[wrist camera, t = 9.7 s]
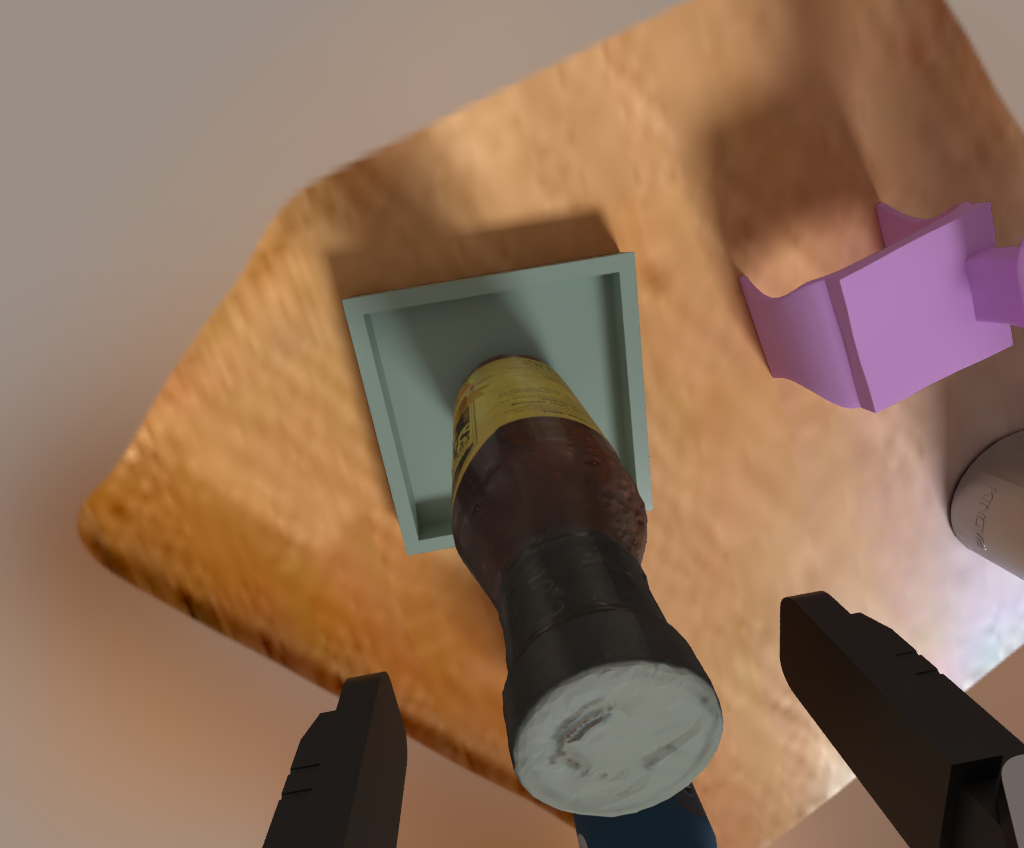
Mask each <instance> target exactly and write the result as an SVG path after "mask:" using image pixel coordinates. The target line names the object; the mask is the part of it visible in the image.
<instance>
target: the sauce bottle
mask: <svg viewBox="0 0 1024 848" xmlns="http://www.w3.org/2000/svg"><path fill="white" fill-rule="evenodd" d="M451 506H452V533H453V538H454V543H455V547H456V549H457V551H458V553H459V555H460V557H461V559H462V560H463V562H464V564H465V565H466V566H467V568H468V569H469V570H470V572H471V573H472V575H473V576H474V577H475V579H476V580H477V581H478V583H479V584H480V586H481V587H482V588H483V590H484V591H485V592H486V594H487V595H488V597H489V598H490V600H491V601H492V603H493V604H494V606H495V608H496V609H497V611H498V613H499V619H500V622H501V625H502V628H503V631H504V632H503V633H504V639H505V646H506V663H507V669H508V676H507V680H506V683H505V686H504V690H503V692H502V695H503V713H504V719H505V723H506V730H507V737H508V745H509V751H510V756H511V760H512V764H513V769H514V771H515V772H516V775H517V777H518V779H519V781H520V783H521V784H522V785H523V786H524V787H525V789H526V790H527V791H528V792H529V793H530V794H531V795H532V796H533V797H535V798H537V799H539V800H540V801H542V802H544V803H546V804H548V805H550V806H552V807H554V808H557V809H559V810H562V811H567V812H571V813H576V814H581V815H592V816H604V817H616V816H621V815H625V814H631V813H637V812H639V811H640V810H643V809H646V808H649V807H652V806H655V805H656V804H658V803H660V802H663V801H665V800H667V799H669V798H671V797H672V796H674V795H675V794H676V793H678V792H679V791H681V790H682V789H684V788H685V787H687V786H688V785H689V784H690V783H691V782H692V781H693V780H694V778H695V777H696V776H697V775H698V774H699V773H700V772H702V771H703V770H704V769H705V768H706V767H707V765H708V764H709V762H710V760H711V758H712V756H713V755H714V754H715V752H716V751H717V748H718V745H719V742H720V738H721V734H722V731H723V716H722V710H721V706H720V702H719V699H718V697H717V694H716V692H715V690H714V687H713V685H712V683H711V680H710V679H709V677H708V676H707V674H706V672H705V671H704V669H703V667H702V666H701V664H700V662H699V661H698V659H697V658H696V656H695V654H694V652H693V650H692V649H691V647H690V646H689V644H688V643H687V641H686V640H685V639H684V638H683V637H682V636H681V635H680V634H679V633H678V632H677V630H676V629H675V628H674V627H673V626H671V625H670V624H668V623H667V621H666V619H665V617H664V615H663V614H662V612H661V610H660V608H659V606H658V604H657V603H656V601H655V599H654V597H653V595H652V593H651V591H650V590H649V586H648V581H647V576H646V575H645V573H644V571H643V569H642V567H641V566H640V565H641V562H642V559H643V554H644V551H645V545H646V543H647V541H646V539H647V521H648V520H647V515H646V509H645V503H644V502H643V500H642V498H641V496H640V495H639V492H638V488H637V485H636V484H635V483H634V481H633V480H632V478H631V477H630V476H629V475H628V472H627V471H626V470H625V469H624V467H623V466H622V465H621V461H620V459H619V457H618V455H617V453H616V451H615V449H614V448H613V447H612V445H611V444H610V442H609V441H608V440H607V438H606V437H605V436H604V434H603V433H602V431H601V430H600V429H599V427H598V426H597V425H596V423H595V422H594V421H593V419H592V418H591V417H590V415H589V414H588V412H587V411H586V410H585V408H584V407H583V405H582V404H581V403H580V401H579V400H578V399H577V397H576V396H575V395H574V393H573V392H572V391H571V389H570V388H569V387H568V385H567V384H566V383H565V381H564V380H563V379H562V378H561V377H560V376H559V374H558V373H557V372H555V371H554V370H553V369H552V368H551V367H550V366H548V365H546V364H544V363H542V362H540V361H539V360H538V359H536V358H534V357H531V356H529V355H518V354H516V355H514V354H513V355H512V354H507V355H500V356H495V357H492V358H490V359H488V360H486V361H484V362H482V363H480V364H479V365H478V366H477V367H476V368H475V369H474V370H473V371H472V372H471V374H469V376H468V378H467V379H466V380H465V381H464V382H463V383H462V386H461V388H460V390H459V393H458V395H457V398H456V401H455V406H454V415H453V456H452V500H451Z"/></svg>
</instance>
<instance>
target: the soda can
mask: <svg viewBox="0 0 1024 848" xmlns="http://www.w3.org/2000/svg"><path fill="white" fill-rule="evenodd" d="M573 817H574V822H575V827H576V832H577V837H578V842H579V847H580V848H717V842H716V837H715V834H714V832H713V829H712V827H711V825H710V822H709V820H708V818H707V816H706V813H705V811H704V809H703V806H702V804H701V802H700V800H699V797H698V795H697V793H696V790H695V788H694V786H693V784H692V782H691V783H690V784H689V785H688V786H687V787H685V788H684V789H682V790H681V791H679V792H678V793H676V794H675V795H674V796H672V797H671V798H669V799H667V800H665V801H663V802H660V803H658V804H656V805H655V806H652V807H649V808H646V809H643V810H640V811H639V812H637V813H631V814H625V815H621V816H616V817H604V816H592V815H581V814H576V813H573Z"/></svg>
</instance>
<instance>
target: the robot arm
mask: <svg viewBox="0 0 1024 848" xmlns="http://www.w3.org/2000/svg"><path fill="white" fill-rule="evenodd" d="M951 522H952V527H953V531H954V532H955V534H956V536H957V538H958V540H959V541H960V542H961V543H962V544H963V545H964V546H966V547H967V548H968V549H970V550H972V551H974V552H975V553H977V554H979V555H981V556H982V557H984V558H986V559H988V560H989V561H991V562H993V563H995V564H996V565H998V566H1000V567H1002V568H1003V569H1005V570H1007V571H1009V572H1010V573H1012V574H1014V575H1015V576H1017V577H1019V578H1021V579H1022V580H1024V430H1022V431H1020V432H1017V433H1014V434H1012V435H1009V436H1007V437H1005V438H1004V439H1002V440H1000V441H998V442H997V443H995V444H994V445H992V446H991V447H990V448H988V449H987V450H986V451H985V452H983V453H982V454H981V455H980V456H979V457H978V458H977V459H976V460H975V461H974V463H973V464H972V465H971V466H970V467H969V468H968V470H967V471H966V473H965V474H964V476H963V477H962V479H961V480H960V483H959V485H958V487H957V489H956V491H955V494H954V498H953V502H952V506H951ZM780 662H781V667H782V670H783V673H784V676H785V678H786V681H787V683H788V685H789V687H790V688H791V690H792V691H793V693H794V694H795V696H796V697H797V698H798V700H799V701H800V702H801V704H802V705H803V706H804V708H805V709H806V710H807V711H808V713H809V714H810V715H811V717H812V718H813V719H814V721H815V722H816V723H817V725H818V726H819V727H820V729H821V730H822V731H823V733H824V734H825V735H826V737H827V738H828V739H829V741H830V742H831V743H832V745H833V746H834V747H835V749H836V750H837V751H838V753H839V754H840V755H841V757H842V758H843V759H844V761H845V762H846V763H847V765H848V766H849V767H850V769H851V770H852V771H853V773H854V774H855V775H856V777H857V778H858V779H859V781H860V782H861V783H862V785H863V786H864V787H865V789H866V790H867V791H868V793H869V794H870V795H871V797H872V798H873V799H874V800H875V802H876V803H877V805H878V806H879V807H880V809H881V810H882V811H883V813H884V814H885V815H886V817H887V818H888V819H889V820H890V822H891V823H892V825H893V826H894V827H895V828H896V830H897V831H898V833H899V834H900V835H901V837H902V838H903V839H904V840H905V842H906V843H907V845H908V846H909V847H910V848H1024V744H1023V743H1022V742H1021V741H1020V740H1019V739H1018V738H1016V737H1015V736H1014V735H1013V734H1012V733H1011V732H1009V731H1008V730H1007V729H1006V728H1005V727H1004V726H1002V725H1001V724H1000V723H999V722H998V721H997V720H995V719H994V718H993V717H992V716H991V715H990V714H989V713H988V712H986V711H985V710H984V709H983V708H982V707H981V706H980V705H978V704H977V703H976V702H975V701H974V700H973V699H972V698H970V697H969V696H968V695H967V694H966V693H965V692H963V691H962V690H961V689H960V688H959V687H958V686H957V685H955V684H954V683H953V682H952V681H951V680H950V679H948V678H947V677H946V676H945V675H944V674H940V673H939V672H938V669H937V668H936V667H935V666H934V665H932V664H931V663H930V662H929V661H928V660H927V659H925V658H924V657H923V656H922V655H918V654H917V652H916V650H915V649H914V648H913V647H912V646H911V645H909V644H908V643H907V642H906V641H905V640H904V639H902V638H901V637H900V636H899V635H898V634H897V633H896V632H894V631H893V630H892V629H891V628H889V627H887V626H885V625H883V624H881V623H879V622H877V621H875V620H873V619H872V618H870V617H868V616H866V615H864V614H862V613H855V614H850V613H849V612H848V611H847V610H846V609H845V608H844V607H842V606H841V605H840V604H839V603H838V602H837V601H836V600H835V599H834V598H833V597H832V596H830V595H829V594H828V593H826V592H824V591H817V592H812V593H806V594H801V595H796V596H790V597H785V598H783V599H782V601H781V605H780ZM406 766H407V740H406V732H405V728H404V724H403V721H402V717H401V714H400V711H399V707H398V704H397V701H396V697H395V694H394V691H393V687H392V684H391V681H390V678H389V675H388V674H387V672H379V673H374V674H369V675H363V676H358V677H353V678H348V679H347V680H346V681H345V683H344V685H343V689H342V692H341V695H340V698H339V702H338V705H337V708H336V710H335V711H330V712H325V713H320V714H319V716H318V717H317V719H316V720H315V721H314V723H313V724H312V725H311V727H310V728H309V729H308V731H307V732H306V733H305V735H304V736H303V737H302V739H301V741H300V743H299V746H298V749H297V752H296V755H295V757H294V760H293V763H292V766H291V773H290V775H288V777H287V780H286V783H285V785H284V788H283V791H282V799H281V800H279V802H278V805H277V808H276V811H275V813H274V816H273V819H272V822H271V825H270V827H269V830H268V833H267V836H266V839H265V842H264V845H263V847H262V848H396V845H397V837H398V830H399V822H400V813H401V806H402V798H403V790H404V783H405V775H406Z"/></svg>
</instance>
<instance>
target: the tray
mask: <svg viewBox="0 0 1024 848" xmlns="http://www.w3.org/2000/svg"><path fill="white" fill-rule="evenodd" d="M342 303H343V307H344V311H345V315H346V318H347V322H348V326H349V330H350V334H351V338H352V342H353V346H354V350H355V353H356V357H357V361H358V365H359V369H360V373H361V377H362V381H363V385H364V389H365V392H366V396H367V400H368V404H369V408H370V412H371V416H372V420H373V424H374V427H375V431H376V435H377V439H378V443H379V447H380V451H381V455H382V459H383V462H384V466H385V470H386V474H387V478H388V482H389V486H390V490H391V494H392V497H393V501H394V505H395V509H396V513H397V517H398V521H399V525H400V529H401V532H402V536H403V540H404V544H405V548H406V552H407V556H409V555H414V554H419V553H425V552H430V551H436V550H441V549H446V548H452V547H455V543H454V538H453V533H452V506H451V500H452V456H453V415H454V406H455V401H456V398H457V395H458V393H459V390H460V388H461V386H462V383H463V382H464V381H465V380H466V379H467V378H468V376H469V374H471V372H472V371H473V370H474V369H475V368H476V367H477V366H478V365H479V364H480V363H482V362H484V361H486V360H488V359H490V358H492V357H495V356H500V355H507V354H512V355H513V354H514V355H516V354H518V355H529V356H531V357H534V358H536V359H538V360H539V361H540V362H542V363H544V364H546V365H548V366H550V367H551V368H552V369H553V370H554V371H555V372H557V373H558V374H559V376H560V377H561V378H562V379H563V380H564V381H565V383H566V384H567V385H568V387H569V388H570V389H571V391H572V392H573V393H574V395H575V396H576V397H577V399H578V400H579V401H580V403H581V404H582V405H583V407H584V408H585V410H586V411H587V412H588V414H589V415H590V417H591V418H592V419H593V421H594V422H595V423H596V425H597V426H598V427H599V429H600V430H601V431H602V433H603V434H604V436H605V437H606V438H607V440H608V441H609V442H610V444H611V445H612V447H613V448H614V449H615V451H616V453H617V455H618V457H619V459H620V461H621V465H622V466H623V467H624V469H625V470H626V471H627V472H628V475H629V476H630V477H631V478H632V480H633V481H634V483H635V484H636V485H637V488H638V492H639V495H640V496H641V498H642V500H643V502H644V503H645V509H646V511H651V510H653V506H652V492H651V478H650V464H649V450H648V436H647V422H646V408H645V394H644V380H643V366H642V352H641V338H640V324H639V310H638V296H637V282H636V268H635V254H634V252H621V253H614V254H608V255H602V256H596V257H590V258H584V259H578V260H572V261H566V262H560V263H554V264H548V265H542V266H535V267H529V268H523V269H517V270H511V271H505V272H499V273H493V274H487V275H481V276H475V277H469V278H462V279H456V280H450V281H444V282H438V283H432V284H426V285H420V286H414V287H408V288H402V289H396V290H390V291H383V292H377V293H371V294H365V295H359V296H353V297H349V298H346V299H343V300H342Z"/></svg>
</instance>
